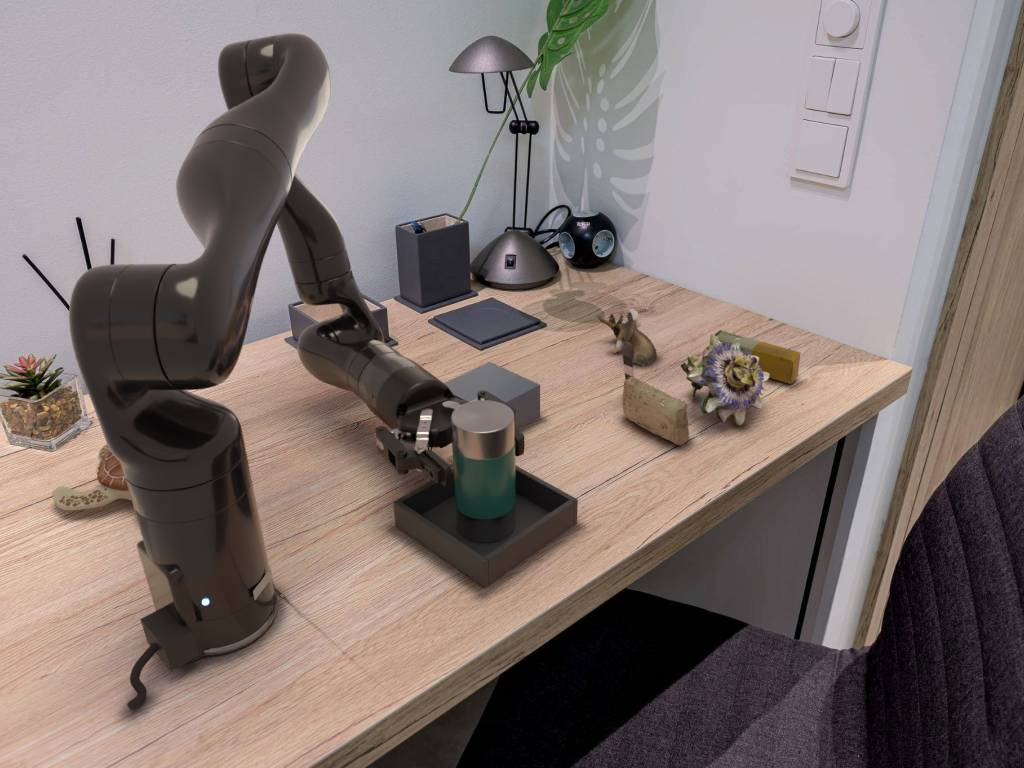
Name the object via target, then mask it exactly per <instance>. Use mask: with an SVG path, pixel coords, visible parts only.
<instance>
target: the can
mask: <svg viewBox="0 0 1024 768" xmlns="http://www.w3.org/2000/svg"><path fill="white" fill-rule="evenodd" d="M451 426H452V443H451V451H452V453H451V454H452V469H453V471H454V489H455V504H456V516H457V528H458V531H459V532H460V534H461V535H462V536H464V537H465V538H467V539H469V540H471V541H474V542H479V543H491V542H496V541H500V540H502V539H504V538H506V537H507V536H509V535H510V534H511V533H512V532H513V530H514V528H515V524H516V518H515V502H516V475H515V465H516V456H515V432H514V413H513V411H512V409H511V408H510V407H508V406H507V405H505V404H503V403H500V402H496V401H490V400H478V401H472V402H468V403H465V404H463V405H461V406H459V407H457V408H456V409H455V410H454V411H453V413H452V415H451Z"/></svg>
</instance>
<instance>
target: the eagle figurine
mask: <svg viewBox="0 0 1024 768" xmlns="http://www.w3.org/2000/svg"><path fill="white" fill-rule="evenodd" d="M619 315H620V317H619V319H618V320H617V322H616V318H615V315H614V314H613V313H611V314H609V318H608V319H605V318H604V317H602V316H601V315H600V314H598V313H597V314H596V317H597V319H598V320H599V322H601V323H602V324H605V325H606V326H608V327H609V328H610V329H611V331H612V332H613V336H615V338H616V339H617V340H616V344H615V348H614V351H613V354H617V353H618V352H620V351H621V350H623V347H624V346H626V344H627V343H629V344H630V345H631V348H632V351H633V354H632V355H633V357H632V358H633V364H637V365H638V366H643V367H646V366H650V364H653V363H654V362H655V361H656V359H657V357H658V353H657V349H656V347H655V345H654V344H653V342H652V340H651V338H649V337H648V335H646V334H645V333H643V332H642V331H640V330H639V329H638V328H640V327H641V326H642V323H641V322H642V321H641V319H640V318H641V317H640V315H639V312H638V311H637V310H636V309H634V308H629V309H628V313H627V315H626V317H627V321H626V322H623V321H624V315H623V313H620V314H619Z"/></svg>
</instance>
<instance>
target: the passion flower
mask: <svg viewBox="0 0 1024 768" xmlns="http://www.w3.org/2000/svg"><path fill="white" fill-rule="evenodd" d="M714 335H715V334H710V337H709V342H708V343H709V345H707V346H706V347H705V348H704V349H703V353H702V357H701V361H699V364H697V366H695V364H694V363H696V362H697V361H698V360H700V357H698V356H693V355H690V356H688V357H687V363H686V362H685V361H684V362H682V364H680V368H681V369H682V370H683V372H685V374H686V377H685V378H686V380H687V381H688V382H690V385H691V387H692V397H693V398H695V396H696V393H697V391H700V390H701V389H703V387H706V388H708V389H709V391H708V393H707V395H706V396H705V397H704V398H703V399H702V400H701V402H700V405H699V410H700V412H701V413H702V414H710V413H712V412H714V411H715V412H714V413H715V415H716V417H717V419H718V420H719V421H720V422H721V424H725V422H726V421H727V420H728V418H729V419H730V420H731V421H732V422H733V423H734V424H735V425H737V427H738V426H742V425H743V423H745V419H746V412H747V410H748V409H749V407H751V408H753V409H756V410H761V409H762V408H763V400H762V399H761V397H760V395H761V396H764V394H763V393H762V390H763V391H766V389H765V388H764V387H763V383H765V382H768V380H769V379H770V378H769V376H770V375H769V373H767V372H763V371H762V369H760V366H759V365H757V364H758V362H759V357H757V356H751V355H748V354H746V355H744V352H745V349H743V350H742V351H741V349H740V348H739V347H740V339H738V338H737V339H735V340H734V341H732V342H731V343H730V345H729V344H728V343H726V345H722V343H721V342H720V341H719V340H718V337H717V336H714ZM706 351H708V353H707V354H706ZM690 367H691V368H692V369H691V370H690V369H689V368H690Z"/></svg>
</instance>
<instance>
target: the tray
mask: <svg viewBox="0 0 1024 768" xmlns="http://www.w3.org/2000/svg"><path fill="white" fill-rule="evenodd" d="M451 474H452V484H450V485H447V486H443V485H442V484H441V483H439V484H438V483H435V482H433V481H432V480H430V481H428V482H426V483H424V484H423V485H421V486H419V487H417V488H416V489H413V490H412V491H410V492H408V493H407V494H405V495H403V496H402V497H399V498H398V499H396V500H394V501H393V502H392V505H393V513H394V523H395V524H394V525H395V527H396V528H397V529H399V530H400V531H402V532H404V533H405V534H406V535H407V536H409V537H410V538H412V539H413V540H414V541H416V542H418V543H419V544H420V545H422V546H423V547H425V548H426V549H428V550H429V551H430V552H432V553H433V554H435V555H436V556H438V557H439V558H440V559H442V560H443V561H445V562H446V563H448V564H449V565H450V566H451V567H453V568H455V569H456V570H458V571H459V572H460V573H462V574H463V575H464V576H466V577H467V578H469V579H470V580H471V581H473V582H475V583H476V584H477V585H479V586H480V587H482V588H483V589H486V588H488V586H490V585H492V584H493V583H495V582H496V581H498V580H499V579H500V578H501V577H503V576H505V575H506V574H507V573H509V572H510V571H511V570H513V569H514V568H516V567H517V566H518V565H520V564H522V563H524V562H525V561H526V560H527V559H529V558H530V557H532V556H533V555H534V554H536V553H537V552H539V551H540V550H542V549H543V548H544V547H546V546H548V544H550V543H551V542H553V541H554V540H556V539H557V538H559V537H560V536H561V535H563V534H564V533H566V532H567V531H569V530H570V529H571V528H573V527H574V526H575V525H577V524H578V509H579V508H578V507H579V506H578V505H579V499H578V498H576V497H574V496H573V495H571V494H569V493H567V492H565V491H563V490H562V489H560V488H558V487H556V486H554V485H552V484H551V483H549V482H547V481H545V480H543V479H542V478H540V477H538V476H536V475H534V474H533V473H530V472H529V471H527V470H525V469H523V468H522V467H520V466H518V465H516V464H515V475H516V502H515V518H516V524H515V528H514V530H513V532H512V533H511V534H510V535H509V536H507V537H506V538H504V539H502V540H500V541H496V542H491V543H479V542H474V541H471V540H469V539H467V538H465V537H464V536H462V535H461V534H460V532H459V531H458V528H457V516H456V504H455V489H454V471H453V468H451Z"/></svg>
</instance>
